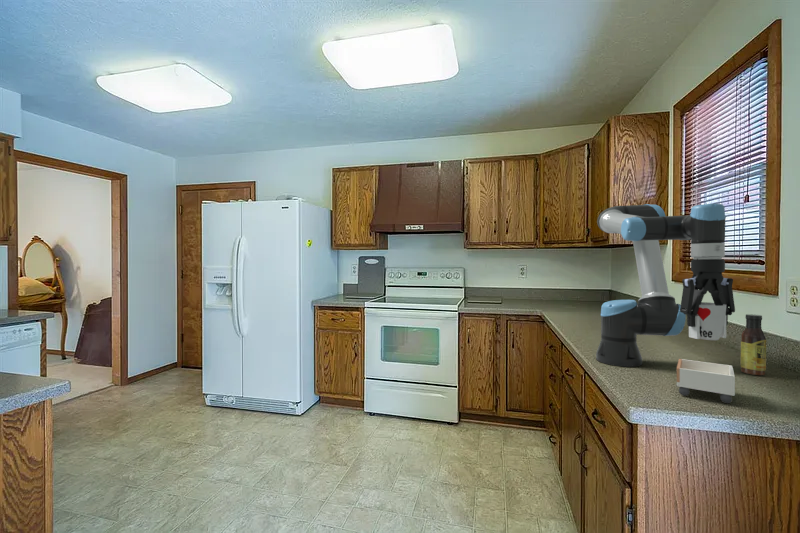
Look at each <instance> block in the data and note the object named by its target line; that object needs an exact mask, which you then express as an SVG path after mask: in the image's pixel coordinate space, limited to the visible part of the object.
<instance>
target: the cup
mask: <svg viewBox="0 0 800 533" xmlns="http://www.w3.org/2000/svg"><path fill="white" fill-rule="evenodd" d="M692 311H693V310H692ZM725 315H726V305H725V304H723V306H716V305H715V304H714V302H705V301H702V302H701V305H699V310H698V313H697V315H696V316H700V339H699V340H707V341H719V340H720V339H721V337H720V336H721V333H722V331H723V327H724V322H725Z"/></svg>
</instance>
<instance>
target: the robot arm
mask: <svg viewBox="0 0 800 533" xmlns="http://www.w3.org/2000/svg"><path fill="white" fill-rule="evenodd" d="M726 219H727V216H726V208H725V205H724V204H721V203H706V204H697V205H694V206H692V207H691V208H690V214H689V215H669V216H668V215H667V216H666V214H665V211H664V209H663V208H662V207H661V206H659V204H658V205H657V204H647V203H646V204H645V203H644V204H638V205H637V204H633V205H630V204H629V205H616V206H611V207H608V208H606V209H605V210H603V211H601V212H600V214H599V215H598V217H597V220H596V223H597V226H598V228H599V229H600V230H601V232H604V233H607V234H619V235H621V237H622V239H623V240H624V241H628V242H632V244H633V249H634V255H635V261H636V269H637V274H638V280H639V287H640V293H641V297H640V298H639V299H638V301H636V299H615V300H608V301H605V302H603V303H602V305H601V309H600V329H601V330H600V333H601V335H600V343H599V345H598V347H597V349H596V352H595V353H596V354H595V356H596V357H595V358H596V360H597V361H598V362H600V363H602V364H606V365H610V366H617V367H628V368H629V367H630V368H632V367H640V366H641V365H643V357H642V354H641V352H640V349H639V346H638V344H637V343H638V342H637V337H638V336H639V335H640V336H642V335H643V336H663V337H666V336H678V335H680V334H681V333H682V331H683V330H684V327H685V326H687V327H688V337H689V338H692V339H696V340H701V339H700V316H696V315H697V313H698V310H699V305H701V302H703V299H704V297H705V295H706V294H707V292H708V293H710V296H711V298H712V300H713V303H714V304H715V305H716V306H723V304H725V305H726V315H725V322H724V327H723V331H722V333H721V336H720V338H723V339H727V326H728V322H729V320H728V318H729V316H731V315H733V313H735V312H736V306H735V299H734V293H733V292H734V291H733V283H734V279H733V278H731V277H724V275H723V273H725V270H726V260H725V258H724V257H726V245H725V244H726ZM674 240H675V241H690V257H691V258H692V259H691V260H690V271H691V272H692V274H693V275H692V276H691V277H690V278H682V280H681V282H682V294H681V300H680V304H679V303H676V299H675V297H674V296H673V295H671V294H670V292H669V288H668V283H667V278H666V273H665V272H666V271H665V268H664V267H665V266H664V261H663V257H662V252H661V248H660V247H661V246H660V241H674ZM692 310H693V311H692ZM637 335H638V336H637Z"/></svg>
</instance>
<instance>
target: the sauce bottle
mask: <svg viewBox="0 0 800 533" xmlns="http://www.w3.org/2000/svg"><path fill="white" fill-rule="evenodd" d="M762 320H763V315H761V314H749V313H747V314H745V321H746V322H745V329H744V330H742V332H741V335H740V336H741V337H740V338H741V339H740V359H739V360H740V362H739V363H740V372H742V373H744V374H747V375H752V376H765V375H766V370H767V337H766V335H765V333H764V331H763V328H762Z"/></svg>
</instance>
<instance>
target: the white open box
mask: <svg viewBox="0 0 800 533" xmlns="http://www.w3.org/2000/svg"><path fill="white" fill-rule="evenodd" d="M733 367H734V366H733V365H729V364H722V363H715V362H709V361H699V360H691V359H684V358H683V359H682V358H678V361H677V364H676V387H679V388H678V392H679V394H680V395H681V396H688V395H689V394H690V389H692V390H698V391H704V392H709V393H710V392H711V393H716V394H720V396H719V399H720V401H721V402H723V403H725V404H730V403H731V402H732V401H733V397H732V396H735V395H736V394H735V393H736V392H735V389H736V388H735V387H736V383H735V382H736V378H735V376H736V375H735V372H734V368H733Z"/></svg>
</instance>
